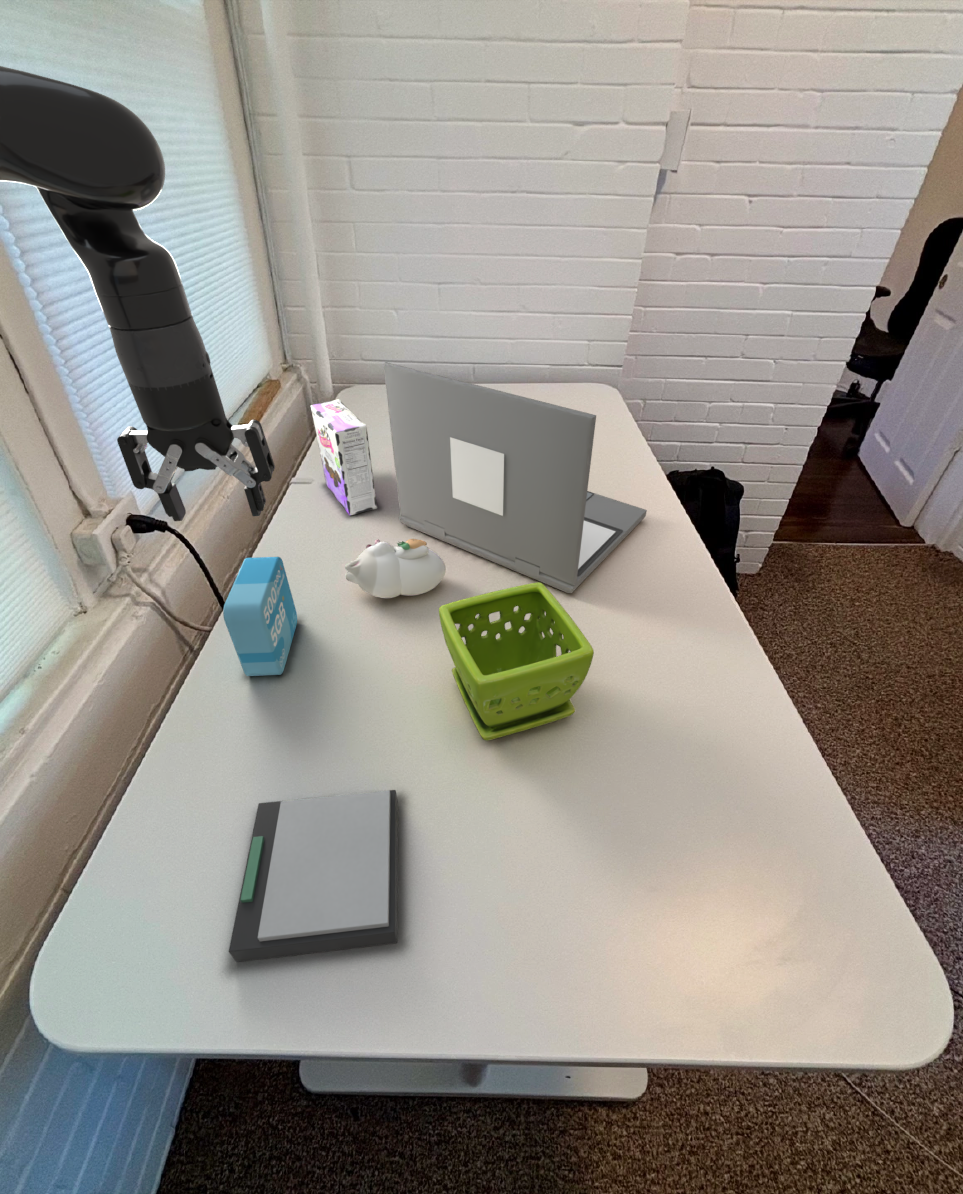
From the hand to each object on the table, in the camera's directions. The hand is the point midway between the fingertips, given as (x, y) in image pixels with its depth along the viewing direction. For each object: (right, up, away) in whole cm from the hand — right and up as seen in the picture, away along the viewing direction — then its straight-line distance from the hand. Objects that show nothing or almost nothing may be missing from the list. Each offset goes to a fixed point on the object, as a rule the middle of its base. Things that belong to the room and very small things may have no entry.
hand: (219, 515), depth 67 cm
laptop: (+37, +3, +39) cm, 53 cm away
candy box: (+5, +10, +47) cm, 48 cm away
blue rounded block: (+1, -17, +15) cm, 22 cm away
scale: (+14, -36, -10) cm, 40 cm away
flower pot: (+33, -22, +7) cm, 41 cm away
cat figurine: (+17, -8, +25) cm, 31 cm away
